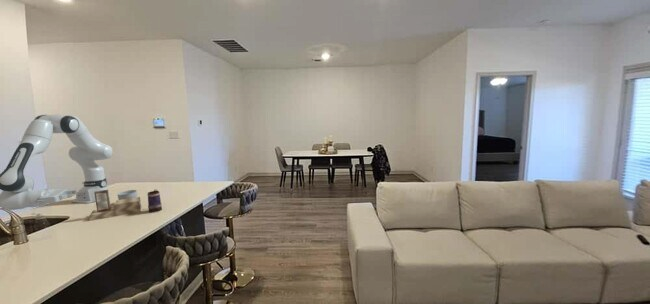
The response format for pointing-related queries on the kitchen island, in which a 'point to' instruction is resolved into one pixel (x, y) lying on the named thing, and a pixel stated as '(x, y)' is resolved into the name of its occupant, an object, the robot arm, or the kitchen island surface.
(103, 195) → the frame
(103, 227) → the kitchen island surface
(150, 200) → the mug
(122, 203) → the stand
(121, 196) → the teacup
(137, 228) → the kitchen island surface
